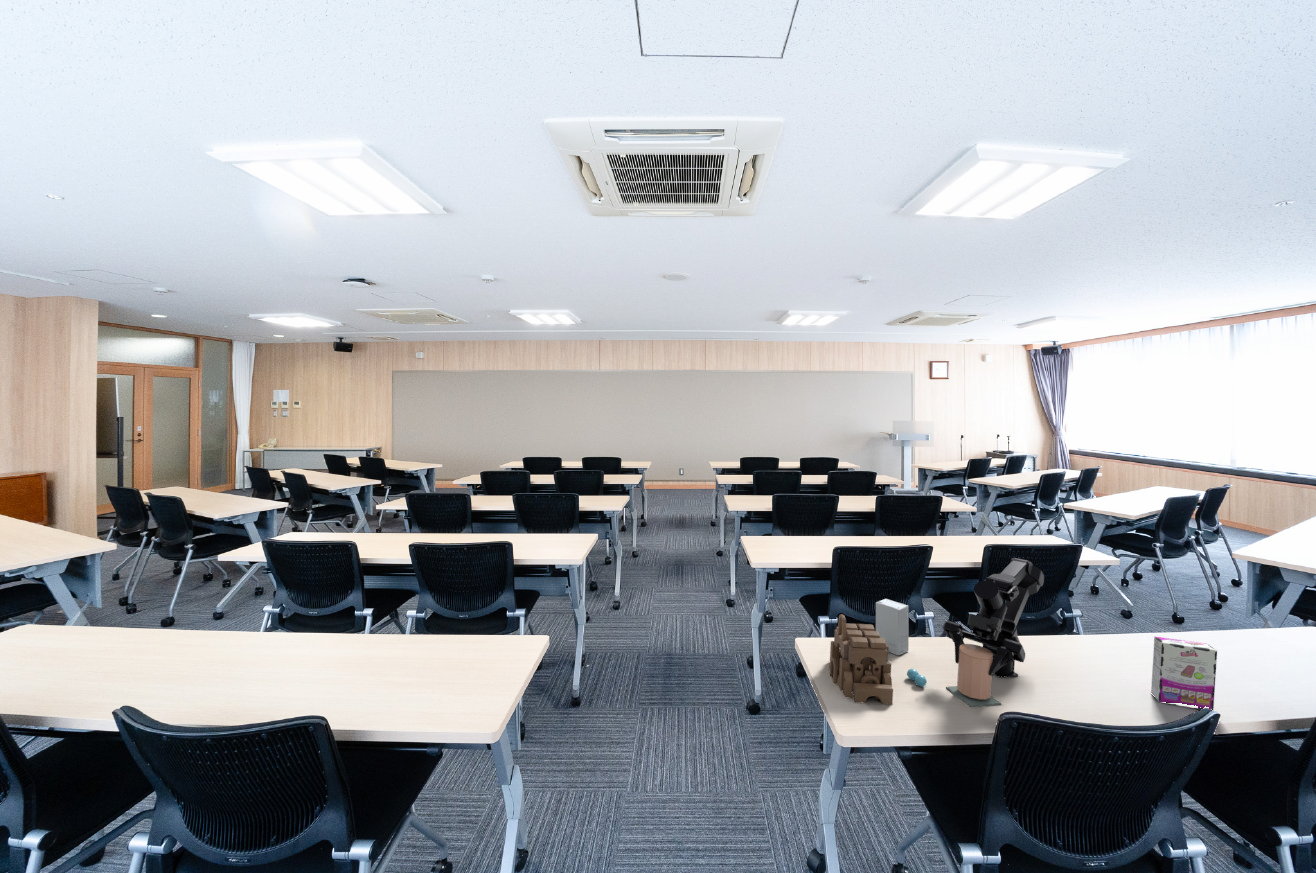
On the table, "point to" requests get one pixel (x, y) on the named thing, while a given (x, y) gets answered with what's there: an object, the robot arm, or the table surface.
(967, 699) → the mat
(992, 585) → the robot arm
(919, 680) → the marble
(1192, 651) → the candy bar box
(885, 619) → the skincare box
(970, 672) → the salmon pink cylinder
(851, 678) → the wooden puzzle
